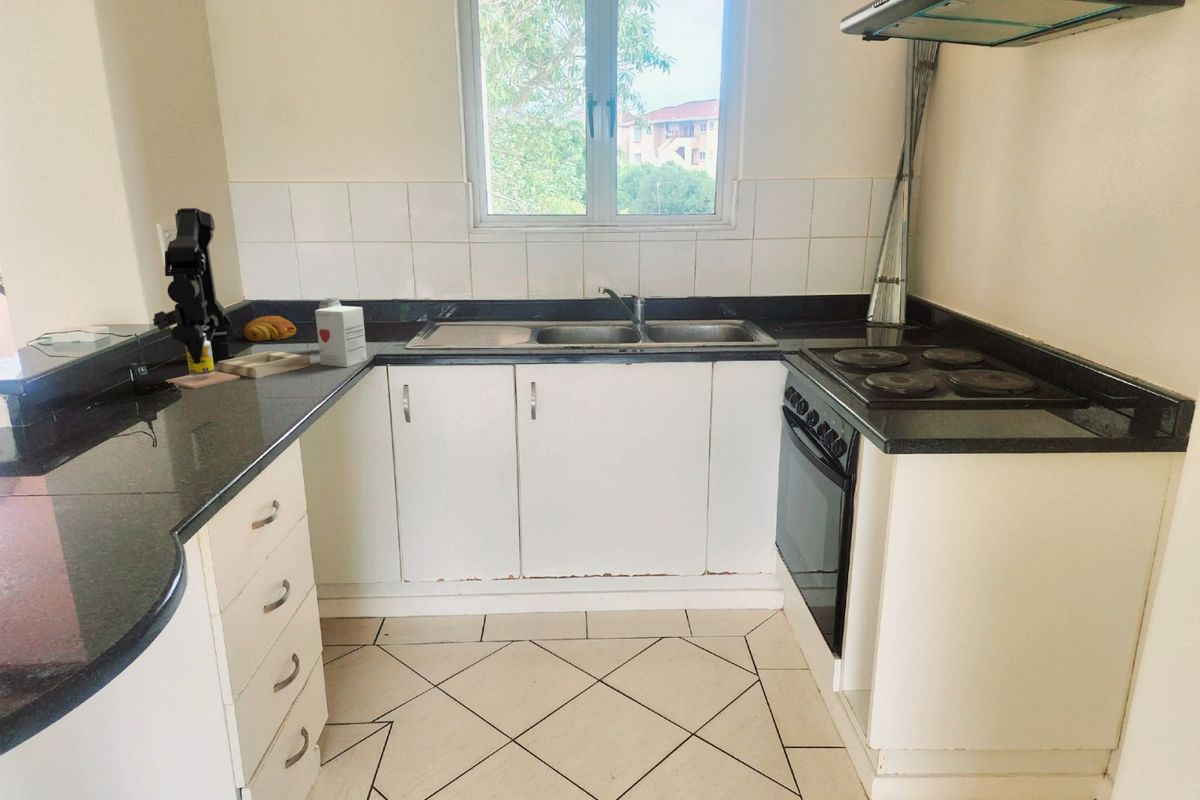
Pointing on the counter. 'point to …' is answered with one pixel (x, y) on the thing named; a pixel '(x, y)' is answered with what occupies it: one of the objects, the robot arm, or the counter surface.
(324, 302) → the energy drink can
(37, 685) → the counter surface
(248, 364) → the board
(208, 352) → the supplement bottle
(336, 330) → the supplement box
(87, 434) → the counter surface
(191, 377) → the terracotta tile
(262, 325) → the croissant
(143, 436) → the counter surface
